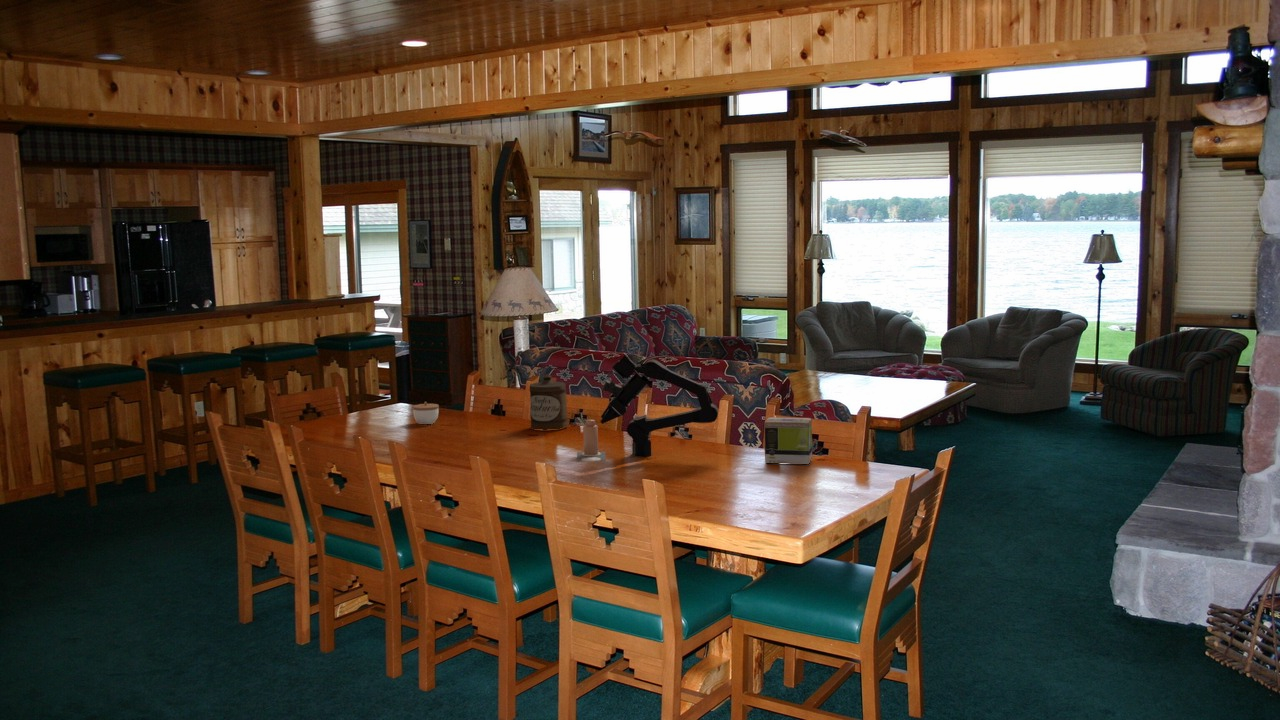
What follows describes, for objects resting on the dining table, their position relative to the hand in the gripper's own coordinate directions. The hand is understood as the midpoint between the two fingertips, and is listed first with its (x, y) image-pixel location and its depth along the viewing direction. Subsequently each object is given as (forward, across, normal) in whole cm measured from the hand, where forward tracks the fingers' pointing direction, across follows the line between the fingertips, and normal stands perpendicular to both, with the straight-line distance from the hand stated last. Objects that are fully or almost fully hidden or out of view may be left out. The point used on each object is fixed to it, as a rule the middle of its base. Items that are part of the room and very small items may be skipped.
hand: (601, 420), depth 355 cm
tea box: (-35, +11, +55) cm, 66 cm away
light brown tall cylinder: (+12, -3, +6) cm, 14 cm away
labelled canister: (+26, -59, -7) cm, 65 cm away
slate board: (+12, +1, +7) cm, 14 cm away
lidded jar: (+64, -74, -44) cm, 107 cm away
